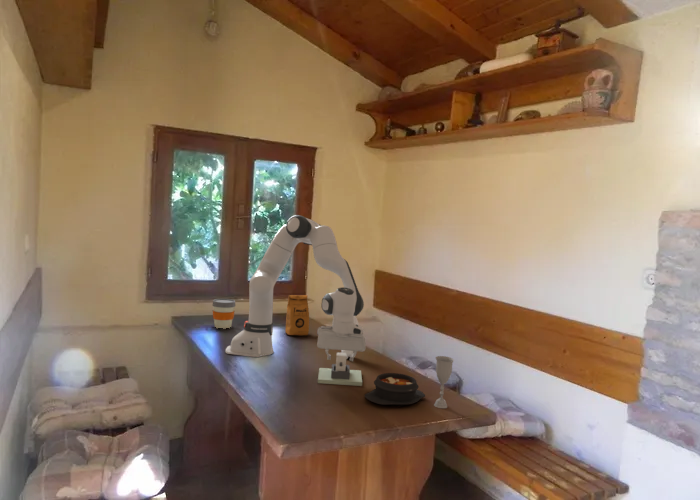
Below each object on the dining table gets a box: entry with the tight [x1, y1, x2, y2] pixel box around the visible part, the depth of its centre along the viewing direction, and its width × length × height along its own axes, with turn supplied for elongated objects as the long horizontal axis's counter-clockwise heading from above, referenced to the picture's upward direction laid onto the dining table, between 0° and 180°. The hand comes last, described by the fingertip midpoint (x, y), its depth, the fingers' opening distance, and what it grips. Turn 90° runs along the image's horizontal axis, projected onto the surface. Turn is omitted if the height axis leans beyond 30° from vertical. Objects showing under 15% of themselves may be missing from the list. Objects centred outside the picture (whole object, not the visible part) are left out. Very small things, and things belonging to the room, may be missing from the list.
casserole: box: [363, 372, 426, 406], centre depth 206 cm, size 25×19×8 cm
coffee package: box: [284, 294, 310, 336], centre depth 298 cm, size 10×12×22 cm
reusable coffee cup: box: [212, 298, 236, 330], centre depth 303 cm, size 13×13×15 cm
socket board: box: [317, 363, 363, 387], centre depth 227 cm, size 18×16×4 cm
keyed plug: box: [335, 352, 347, 371], centre depth 225 cm, size 4×9×9 cm, turn 1°
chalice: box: [433, 355, 455, 409], centre depth 203 cm, size 7×7×18 cm
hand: (340, 360), depth 225 cm, fingers open, 8 cm apart
